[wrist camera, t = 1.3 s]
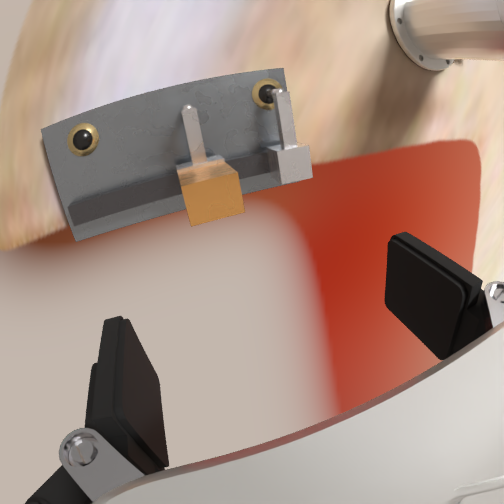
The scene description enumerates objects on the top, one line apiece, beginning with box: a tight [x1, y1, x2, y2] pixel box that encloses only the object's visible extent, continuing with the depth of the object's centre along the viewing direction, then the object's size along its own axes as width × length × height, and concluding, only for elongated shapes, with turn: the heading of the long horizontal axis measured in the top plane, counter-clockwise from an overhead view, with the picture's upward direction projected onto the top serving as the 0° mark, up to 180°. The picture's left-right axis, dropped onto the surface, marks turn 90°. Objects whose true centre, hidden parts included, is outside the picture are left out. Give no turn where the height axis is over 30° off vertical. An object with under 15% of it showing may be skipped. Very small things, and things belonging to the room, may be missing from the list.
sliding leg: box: [176, 104, 245, 226], centre depth 25 cm, size 4×9×8 cm, turn 11°
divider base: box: [41, 68, 313, 242], centre depth 27 cm, size 24×12×6 cm, turn 100°
